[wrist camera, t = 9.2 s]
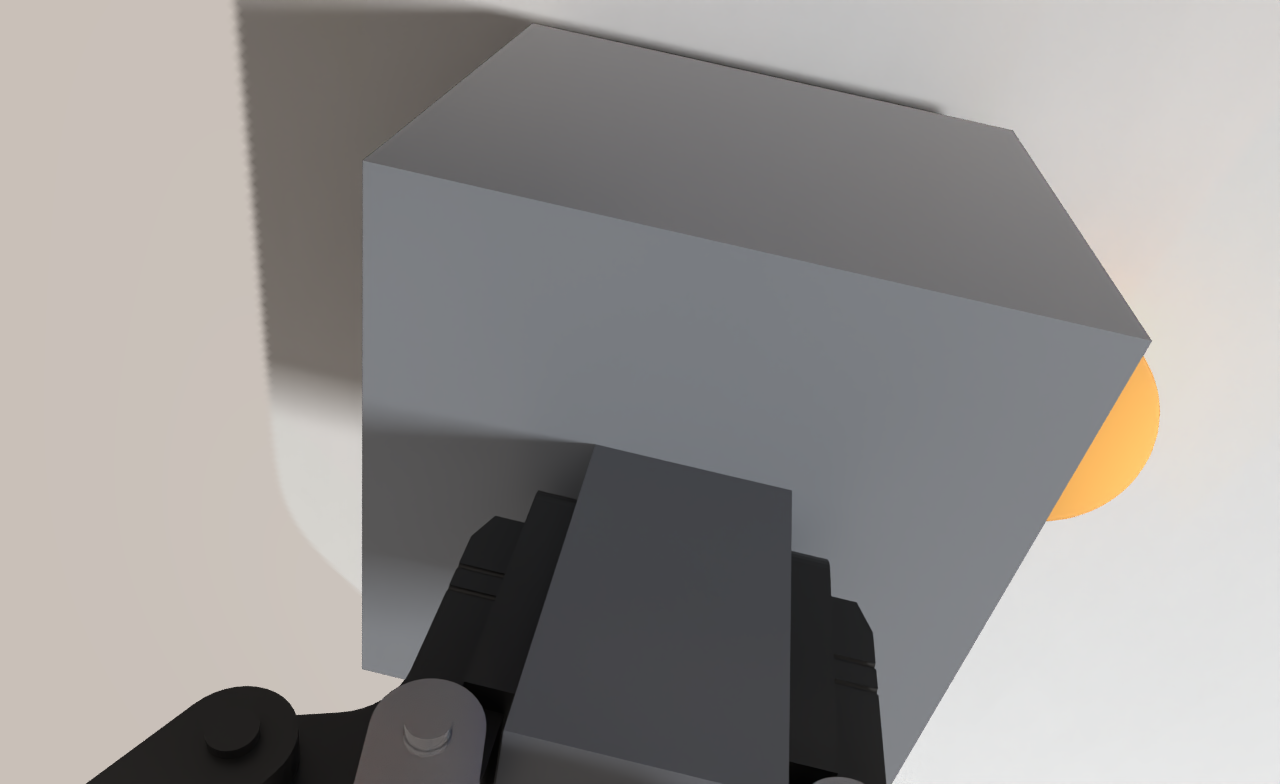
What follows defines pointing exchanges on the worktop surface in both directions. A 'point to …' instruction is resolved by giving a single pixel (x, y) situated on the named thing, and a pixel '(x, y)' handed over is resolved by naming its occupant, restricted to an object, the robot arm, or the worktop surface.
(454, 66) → the worktop surface
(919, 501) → the gray block with peg
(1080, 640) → the worktop surface
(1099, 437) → the ball
